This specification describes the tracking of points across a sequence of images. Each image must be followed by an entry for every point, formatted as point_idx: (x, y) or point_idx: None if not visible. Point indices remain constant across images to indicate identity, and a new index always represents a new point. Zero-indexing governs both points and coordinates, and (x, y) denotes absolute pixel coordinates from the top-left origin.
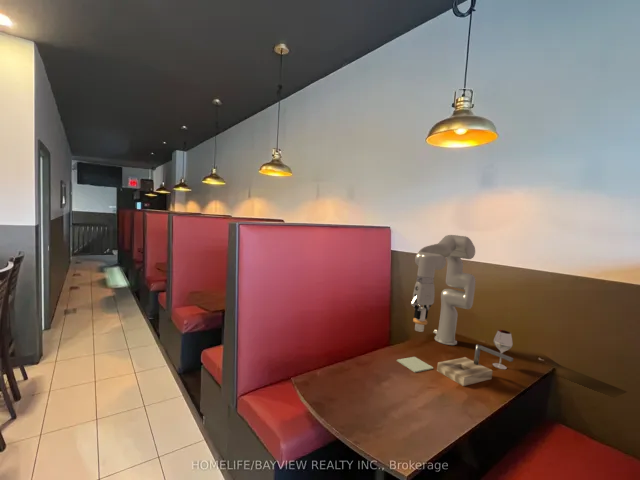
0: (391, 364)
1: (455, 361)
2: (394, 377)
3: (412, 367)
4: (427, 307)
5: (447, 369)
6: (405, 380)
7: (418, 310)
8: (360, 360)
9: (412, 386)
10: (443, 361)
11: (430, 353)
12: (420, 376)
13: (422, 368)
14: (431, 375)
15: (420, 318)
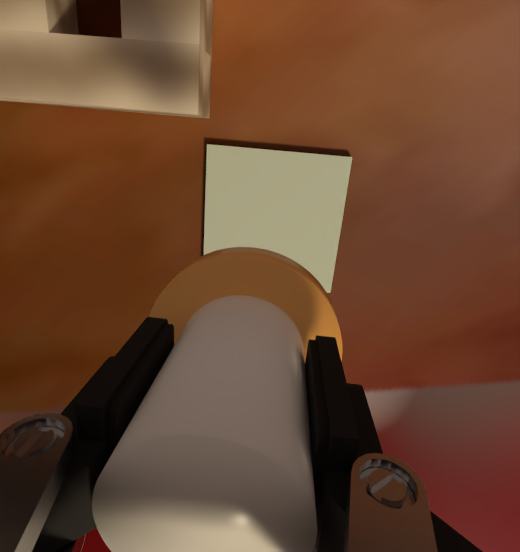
0: (390, 273)
1: (60, 73)
2: (509, 165)
3: (326, 195)
4: (45, 486)
5: (202, 29)
6: (484, 114)
7: (410, 470)
8: (501, 362)
9: (513, 45)
10: (146, 109)
11: (70, 277)
12: (361, 111)
13: (281, 163)
14: (288, 92)
15: (293, 342)
